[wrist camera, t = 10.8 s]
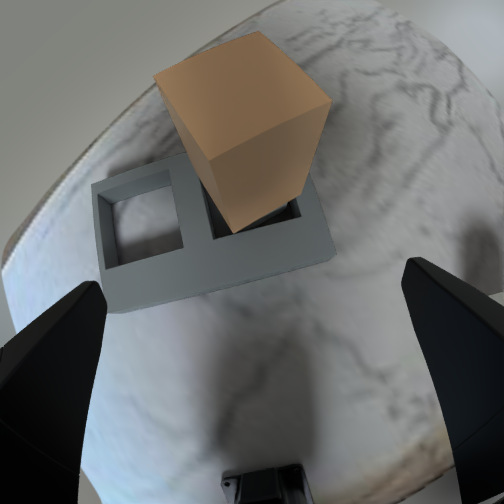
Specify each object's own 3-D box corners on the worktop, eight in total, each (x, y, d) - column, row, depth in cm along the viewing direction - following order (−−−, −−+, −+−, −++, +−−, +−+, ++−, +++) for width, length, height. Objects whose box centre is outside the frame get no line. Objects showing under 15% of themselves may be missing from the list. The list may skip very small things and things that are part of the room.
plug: (294, 211, 22) (332, 100, 10) (237, 245, 22) (208, 161, 9) (259, 160, 23) (258, 31, 10) (204, 191, 23) (153, 75, 10)
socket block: (328, 260, 22) (336, 254, 19) (122, 313, 21) (107, 313, 19) (288, 143, 23) (291, 126, 21) (105, 195, 23) (91, 184, 21)
